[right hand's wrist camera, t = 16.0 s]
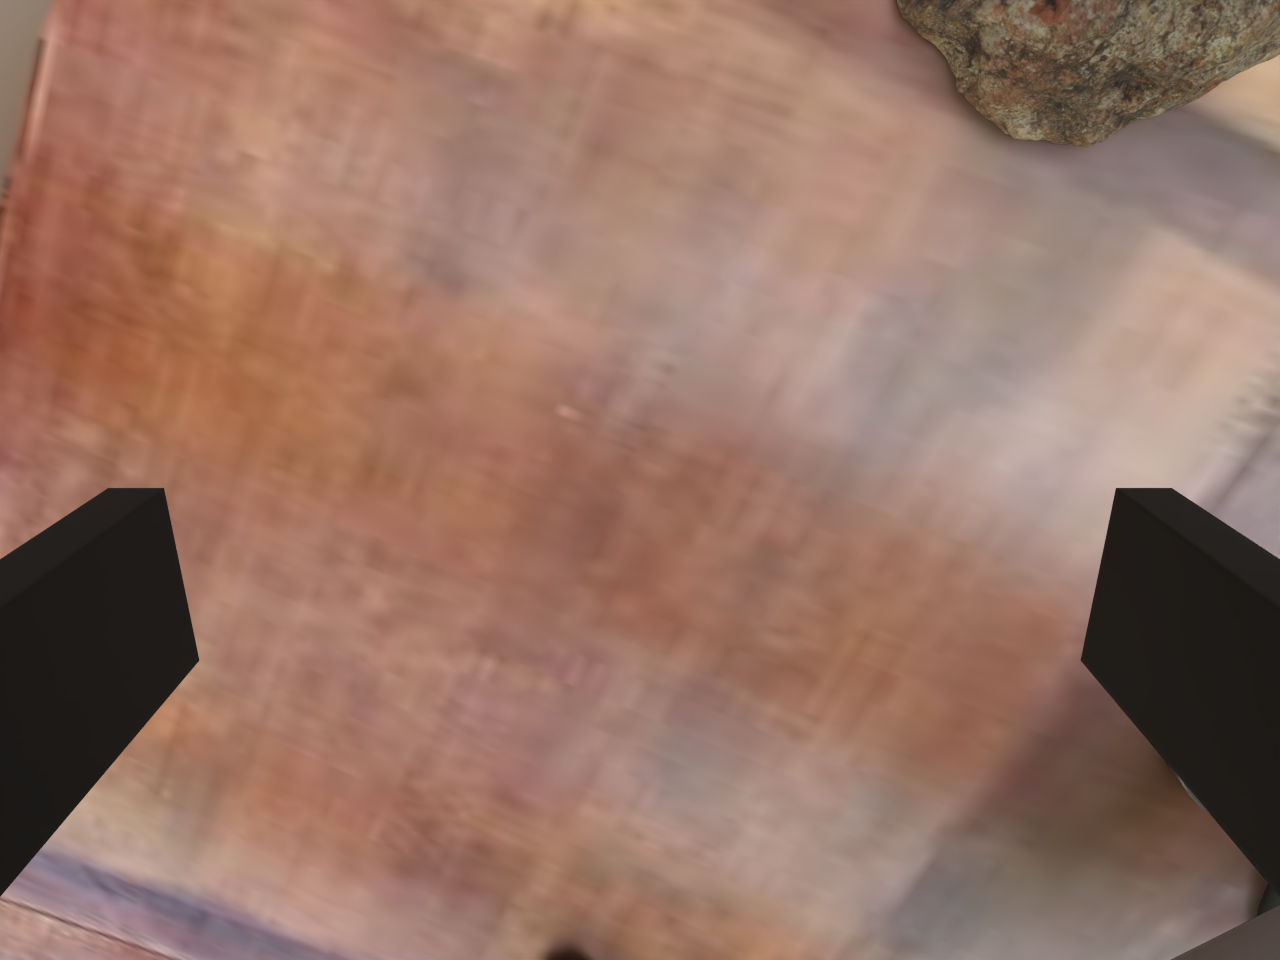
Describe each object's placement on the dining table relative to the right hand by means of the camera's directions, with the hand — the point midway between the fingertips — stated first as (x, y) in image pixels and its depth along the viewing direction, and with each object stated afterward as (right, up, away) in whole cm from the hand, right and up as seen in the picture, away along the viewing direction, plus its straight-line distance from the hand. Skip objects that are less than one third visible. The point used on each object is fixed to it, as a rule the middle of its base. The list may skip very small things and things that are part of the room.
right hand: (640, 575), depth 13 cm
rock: (+18, +21, +25) cm, 37 cm away
